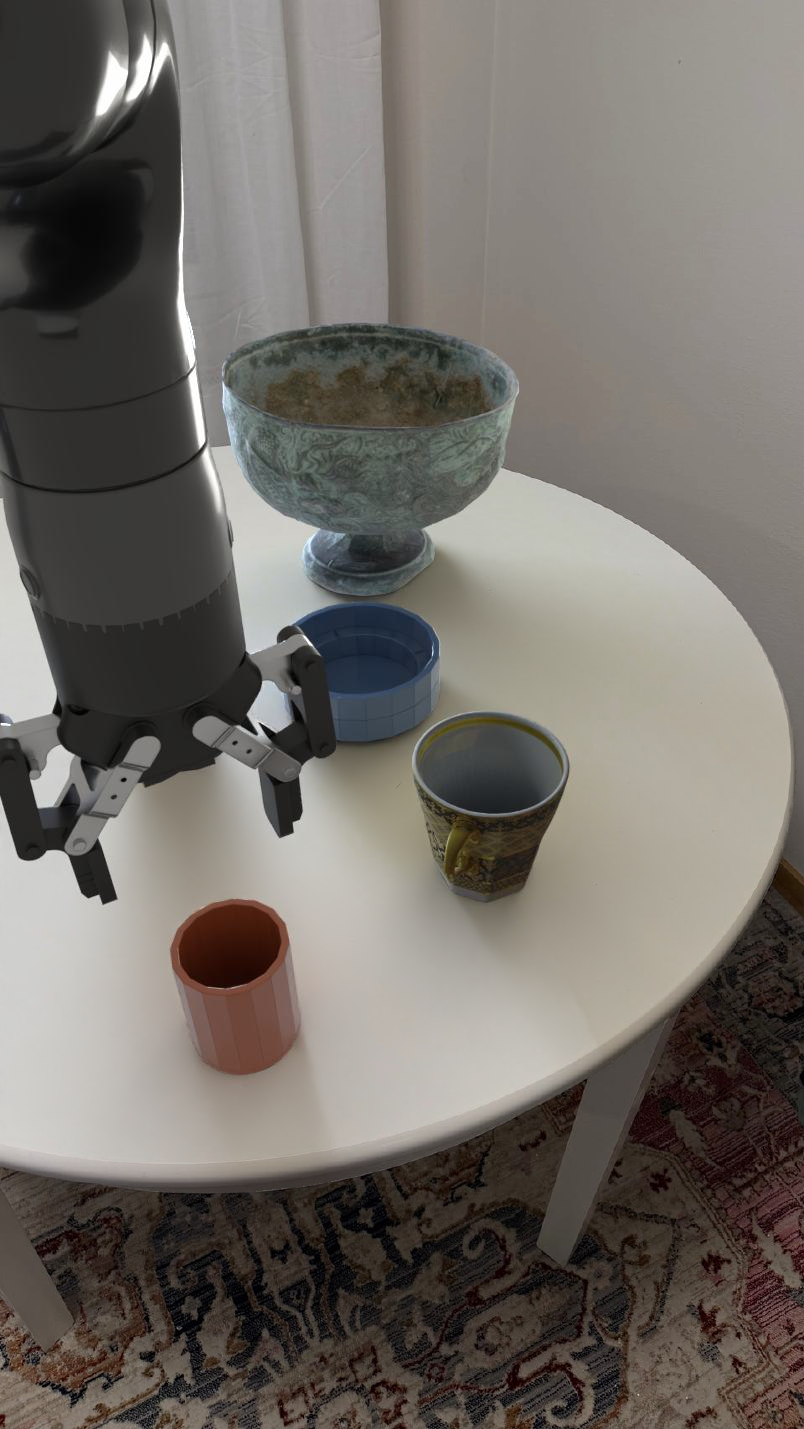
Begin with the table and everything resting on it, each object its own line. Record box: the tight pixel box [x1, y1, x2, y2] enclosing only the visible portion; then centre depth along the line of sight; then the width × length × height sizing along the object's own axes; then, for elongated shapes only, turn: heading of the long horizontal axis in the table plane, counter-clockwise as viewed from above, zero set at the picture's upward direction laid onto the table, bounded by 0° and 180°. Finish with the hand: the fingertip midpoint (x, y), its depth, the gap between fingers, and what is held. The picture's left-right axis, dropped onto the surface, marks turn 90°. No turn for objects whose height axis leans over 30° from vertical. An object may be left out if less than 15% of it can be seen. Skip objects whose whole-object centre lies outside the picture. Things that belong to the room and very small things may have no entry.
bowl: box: [280, 601, 441, 742], centre depth 83 cm, size 13×13×5 cm
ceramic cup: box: [411, 710, 571, 903], centre depth 66 cm, size 13×10×10 cm
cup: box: [169, 897, 301, 1075], centre depth 58 cm, size 6×6×8 cm
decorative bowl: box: [221, 322, 520, 597], centre depth 95 cm, size 26×26×20 cm
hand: (194, 856), depth 47 cm, fingers open, 8 cm apart
